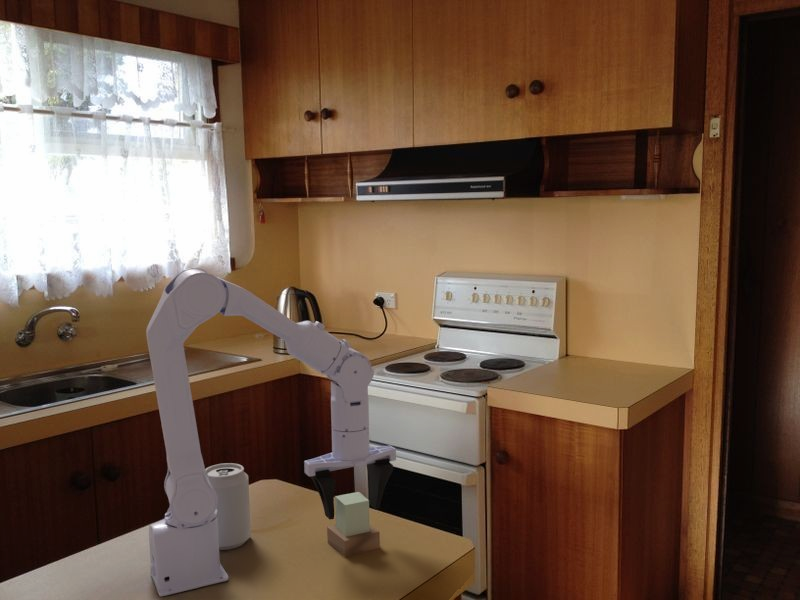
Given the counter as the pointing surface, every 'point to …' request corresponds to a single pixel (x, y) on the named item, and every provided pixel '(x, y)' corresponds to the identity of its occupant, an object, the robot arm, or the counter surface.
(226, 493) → the can
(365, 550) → the walnut slab
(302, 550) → the counter surface
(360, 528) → the green block
